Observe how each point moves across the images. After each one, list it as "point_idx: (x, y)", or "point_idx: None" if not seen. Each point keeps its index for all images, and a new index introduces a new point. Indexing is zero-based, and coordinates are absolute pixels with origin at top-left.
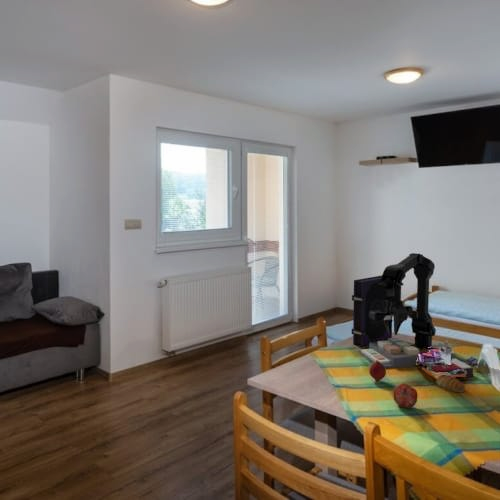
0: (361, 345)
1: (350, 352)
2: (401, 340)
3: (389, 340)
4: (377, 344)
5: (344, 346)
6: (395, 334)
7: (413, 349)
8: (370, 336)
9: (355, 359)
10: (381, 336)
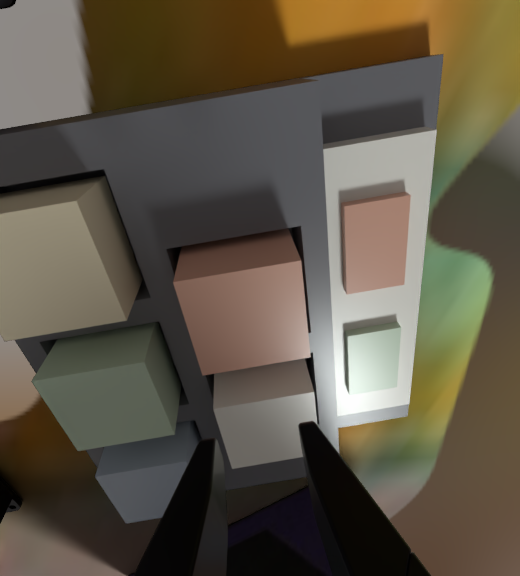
0: None
1: (439, 405)
2: (104, 476)
3: None
4: None
5: (418, 477)
6: (218, 447)
7: (8, 226)
8: (274, 554)
9: (486, 296)
10: None
